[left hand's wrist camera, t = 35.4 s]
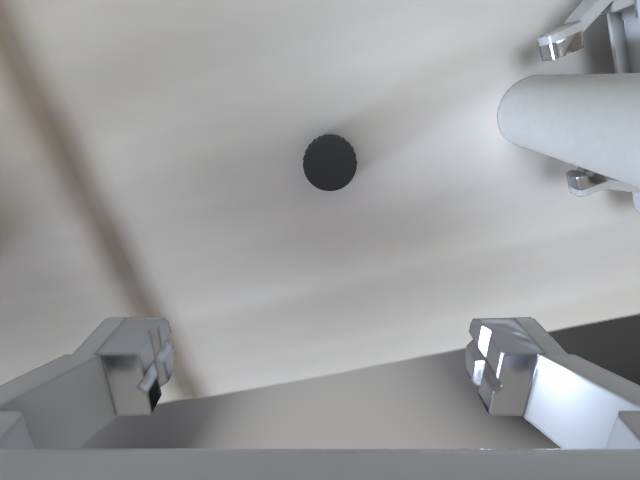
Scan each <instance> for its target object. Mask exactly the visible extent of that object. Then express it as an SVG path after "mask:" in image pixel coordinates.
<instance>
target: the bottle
mask: <svg viewBox="0 0 640 480" xmlns="http://www.w3.org/2000/svg"><path fill="white" fill-rule="evenodd" d="M497 118H498V126H499V129H500V131H501V133H502V135H503V136H504V137H505V138H506V139H507V140H508V141H510V142H511V143H513V144H516V145H519V146H522V147H524V148H527V149H530V150H533V151H536V152H539V153H541V154H544V155H547V156H550V157H553V158H556V159H558V160H561V161H564V162H567V163H570V164H573V165H575V166H578V167H581V168H584V169H587V170H590V171H593V172H595V173H598V174H601V175H604V176H607V177H610V178H612V179H615V180H618V181H621V182H624V183H627V184H629V185H632V186H635V187H638V188H640V73H614V74H567V75H534V76H530V77H527V78H524V79H522V80H520V81H519V82H517V83H516V84H515V85H513V86H512V87H511V88H510V89H509V90H508V91H507V93H506V94H505V95H504V97H503V99H502V101H501V103H500V106H499V109H498V117H497Z"/></svg>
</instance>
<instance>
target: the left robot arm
mask: <svg viewBox="0 0 640 480" xmlns="http://www.w3.org/2000/svg"><path fill="white" fill-rule="evenodd" d="M170 333H171V330H170V325H169V321H168V320H167V319H166V318H138V317H129V318H128V317H110V318H106V319H105V320H104V321H103V322H102V323H101V324H100V325H99V326H98V327H97V328H96V330H95V331H94V332H93V333H92V334H91V335H90V336H89V337H88V338H87V339H86V340H85V341H84V342H83V343H82V344H81V346H80V347H79V348H78V349H77V350H76V351H75V352H74V353H73V354H72V355H64V356H62V357H60V358H58V359H56V360H53V361H51V362H49V363H47V364H45V365H43V366H41V367H39V368H37V369H35V370H32V371H30V372H28V373H26V374H24V375H22V376H20V377H18V378H16V379H13V380H11V381H9V382H7V383H5V384H3V385H1V386H0V480H640V386H639V385H637V384H635V383H633V382H631V381H629V380H626V379H624V378H622V377H620V376H618V375H616V374H614V373H612V372H610V371H607V370H605V369H603V368H601V367H599V366H597V365H595V364H593V363H591V362H589V361H586V360H584V359H582V358H580V357H578V356H576V355H568V354H567V353H566V352H565V351H564V350H563V349H562V348H561V347H560V346H559V344H558V343H557V342H556V341H555V340H554V339H553V338H552V337H551V336H550V335H549V334H548V333H547V332H546V331H545V329H544V328H543V327H542V326H541V325H540V324H539V323H538V322H537V321H536V320H535V319H533V318H531V317H514V318H481V319H473V320H472V322H471V324H470V329H469V333H470V334H471V336H472V338H473V340H472V341H471V342H470V343H469V344H468V345H467V347H466V355H465V359H466V368H467V371H468V375H469V377H470V379H471V381H472V382H473V383H474V384H476V385H477V386H479V387H480V389H479V396H480V398H481V400H482V402H483V404H484V406H485V408H486V410H487V412H488V414H489V415H511V416H524V418H525V419H527V420H528V421H529V422H530V423H531V424H533V425H534V426H535V427H536V428H538V429H539V430H540V431H541V432H542V433H544V434H545V435H546V436H547V437H549V438H550V439H551V440H552V441H553V442H555V443H556V444H557V445H558V446H560V447H561V448H562V449H78V448H79V447H81V446H82V445H83V444H84V443H85V442H87V441H88V440H89V439H90V438H91V437H93V436H94V435H95V434H96V433H98V432H99V431H100V430H101V429H103V428H104V427H105V426H106V425H107V424H109V423H110V422H111V421H112V420H114V419H115V418H116V416H128V415H151V414H152V412H153V410H154V408H155V406H156V404H157V402H158V400H159V398H160V396H161V395H162V394H161V389H160V387H161V386H163V385H164V384H165V383H167V382H168V381H169V379H170V377H171V375H172V372H173V367H174V363H175V353H174V347H173V345H172V344H171V343H170V342H169V341H168V340H167V338H168V336H169V334H170Z"/></svg>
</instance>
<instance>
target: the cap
mask: <svg viewBox="0 0 640 480" xmlns="http://www.w3.org/2000/svg"><path fill="white" fill-rule="evenodd" d="M305 153H306V154H305V155H304V158H303V160H304V162H303V167H304V172H305V175H306V177H307V179H308V180H309V181H310V183H311V184H312V185H314V186H315V187H317V188H319V189H321V190H325V191H334V190H338V189H341V188H343V187H344V186H346V185H347V184H348V183H349V182H350V181H351V180H352V178H353V176H354V174H355V171H356V163H357V161H356V158H355V157H356V155H355V153H354V150H353V147H351V145H350V144H349V142H347V141H346V140H345V139H344V138H341V137H339V135H338V136H336V135H332V134H331V135H326V134H325V135H324V136H321V137H320V136H319V138H317V139H315V140H313V142H312V143H311V144H309V147H308V149H306V152H305Z"/></svg>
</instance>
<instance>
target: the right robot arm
mask: <svg viewBox="0 0 640 480" xmlns="http://www.w3.org/2000/svg"><path fill="white" fill-rule="evenodd" d="M604 14H607V21H608V28H609V35H610V42H611V49H612V56H613V62H614V69H615V73H640V0H583V1H582V2H581V3H580V4H579V5H578V7H577V8H576V9H575V10H574V11H573V13H572V14H571V15H570V16H569V17H568V19H567V20H566V21H565V22H564V26H562V27H560V28H558V29H555V30H553V31H551V32H549V33H547V34H544V35H542V36H540V37H539V38H538V42H539V47H540V52H541V57H542V61H546V60H548V61H551V60H555V59H558V58H560V57H563V56H565V55H566V54H567V53H569V52H574V51H576V50H579V49H581V48H583V47H584V42H583V35H582V33H583V32H584V31H585V30H586V29H587V28H588V27H589V26H590V25H591V24H592V23H593V22H594V20H595V19H596V18H597V17H598V16H600V15H604ZM566 176H567V182H568V188H569V192H570V193H572V194H574V195H576V196H587V195H590V194H593V193H596V192H598V191H601V190H604V189H609V190H618V191H626V192H632V194H633V201H634V207H635V209H636V210H637V211H638V212H639V213H640V188H638V187H635V186H632V185H629V184H627V183H624V182H621V181H618V180H615V179H612V178H610V177H607V176H604V175H601V174H598V173H595V172H593V171H590V170H587V169H584V168H581V167H579V168H578V169H577V170H570V171H568V172H567V173H566Z"/></svg>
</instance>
